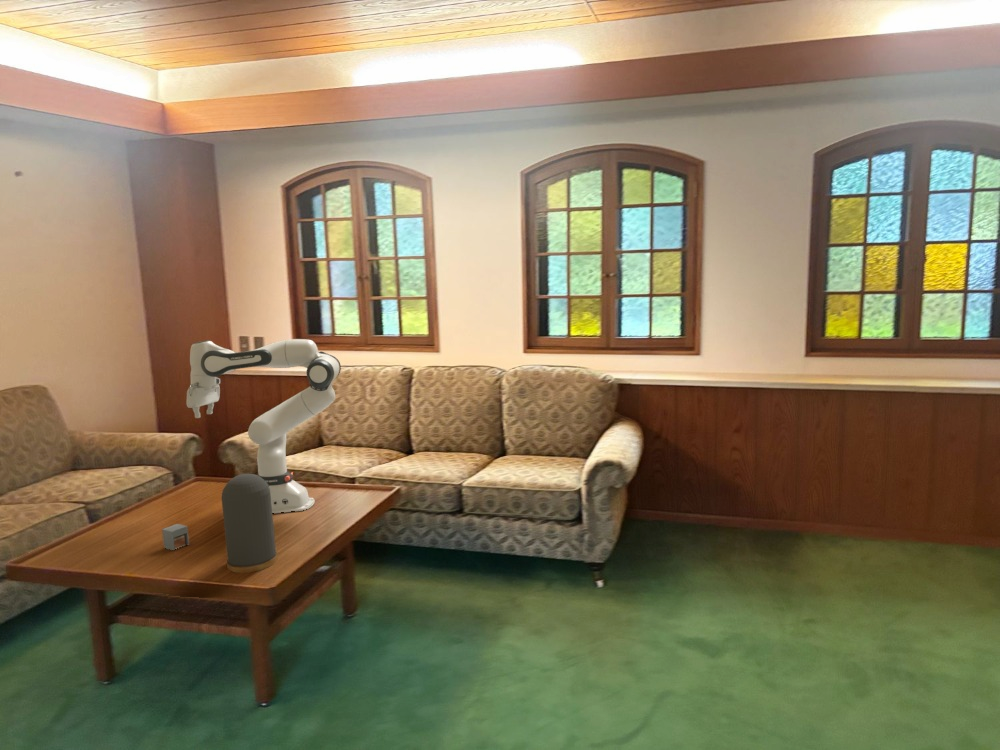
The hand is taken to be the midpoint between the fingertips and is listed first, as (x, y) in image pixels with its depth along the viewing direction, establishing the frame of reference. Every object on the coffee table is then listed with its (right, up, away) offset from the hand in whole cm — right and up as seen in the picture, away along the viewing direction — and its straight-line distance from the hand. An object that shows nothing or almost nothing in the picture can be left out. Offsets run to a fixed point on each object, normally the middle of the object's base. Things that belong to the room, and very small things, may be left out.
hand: (203, 415), depth 278 cm
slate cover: (+4, -44, -31) cm, 55 cm away
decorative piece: (+37, -46, -48) cm, 76 cm away
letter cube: (+4, -45, -31) cm, 55 cm away
